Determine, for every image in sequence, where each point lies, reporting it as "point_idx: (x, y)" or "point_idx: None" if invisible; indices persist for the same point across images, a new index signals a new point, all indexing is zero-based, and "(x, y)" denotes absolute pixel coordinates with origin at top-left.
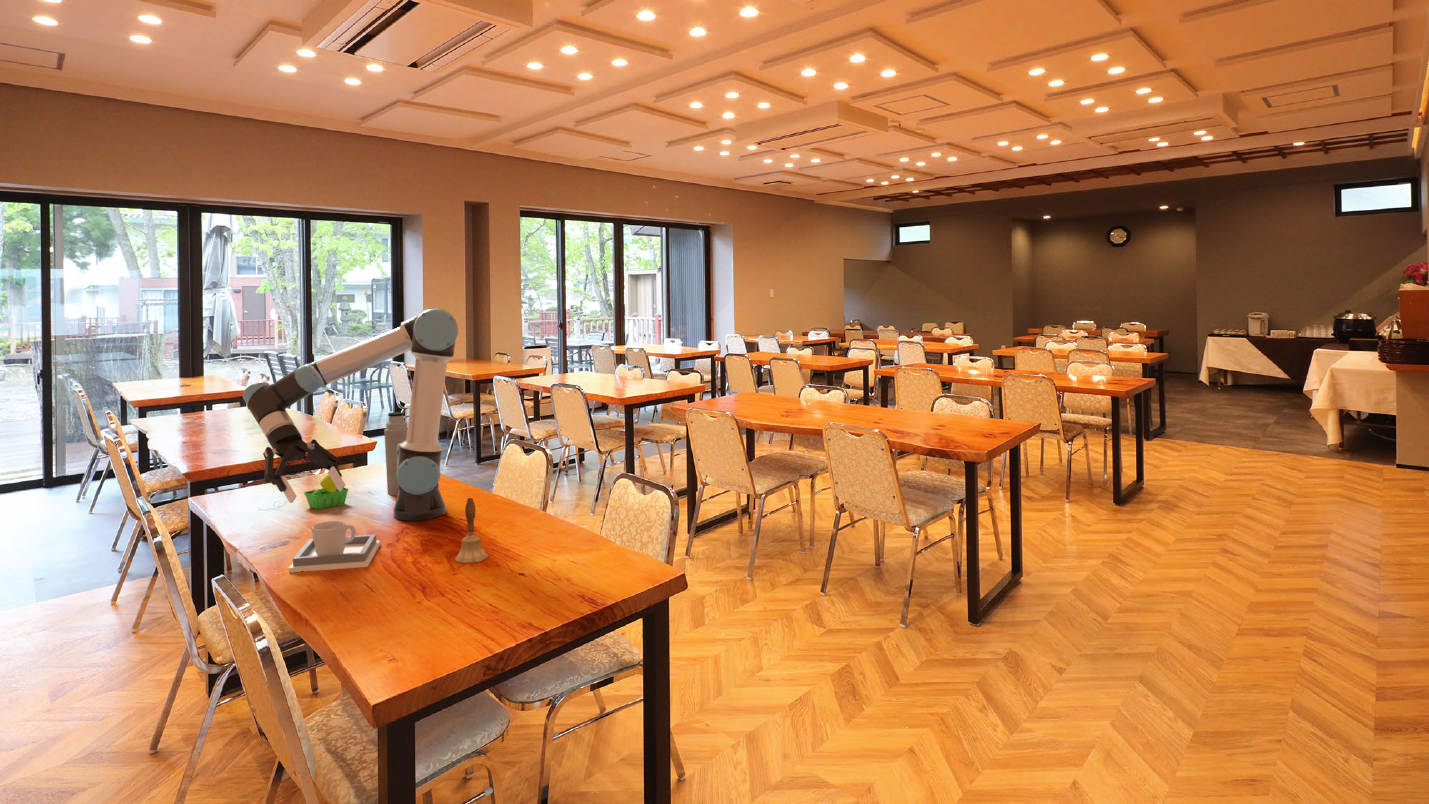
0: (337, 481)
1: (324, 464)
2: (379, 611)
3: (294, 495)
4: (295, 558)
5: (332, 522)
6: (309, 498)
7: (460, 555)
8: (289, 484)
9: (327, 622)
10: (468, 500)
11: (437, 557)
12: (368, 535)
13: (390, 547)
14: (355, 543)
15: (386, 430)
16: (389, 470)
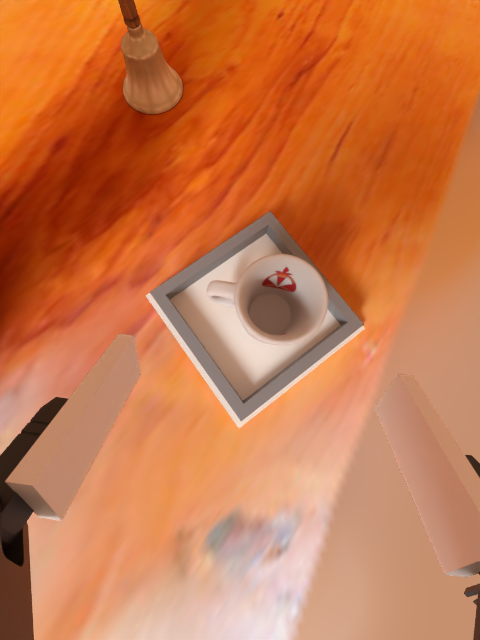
0: (115, 388)
1: (13, 601)
2: (398, 70)
3: (410, 379)
4: (359, 320)
5: (248, 320)
6: None
7: (172, 84)
8: (447, 451)
9: (461, 102)
10: None
11: (173, 142)
12: (163, 301)
13: (156, 264)
14: (188, 325)
15: None
16: None
